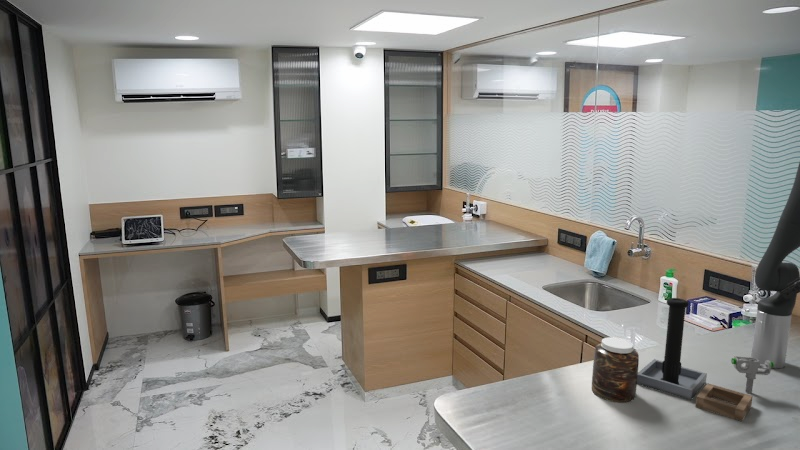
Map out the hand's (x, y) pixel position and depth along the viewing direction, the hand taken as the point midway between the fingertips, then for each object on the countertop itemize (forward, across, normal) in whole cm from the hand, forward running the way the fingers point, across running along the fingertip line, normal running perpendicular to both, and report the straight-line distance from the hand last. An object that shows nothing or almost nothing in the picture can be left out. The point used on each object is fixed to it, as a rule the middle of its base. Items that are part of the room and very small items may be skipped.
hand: (786, 292), depth 145 cm
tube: (+40, +4, +5) cm, 40 cm away
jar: (+48, +20, -1) cm, 52 cm away
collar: (+30, +7, +16) cm, 35 cm away
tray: (+40, +2, +6) cm, 41 cm away
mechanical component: (+28, -8, +19) cm, 34 cm away
